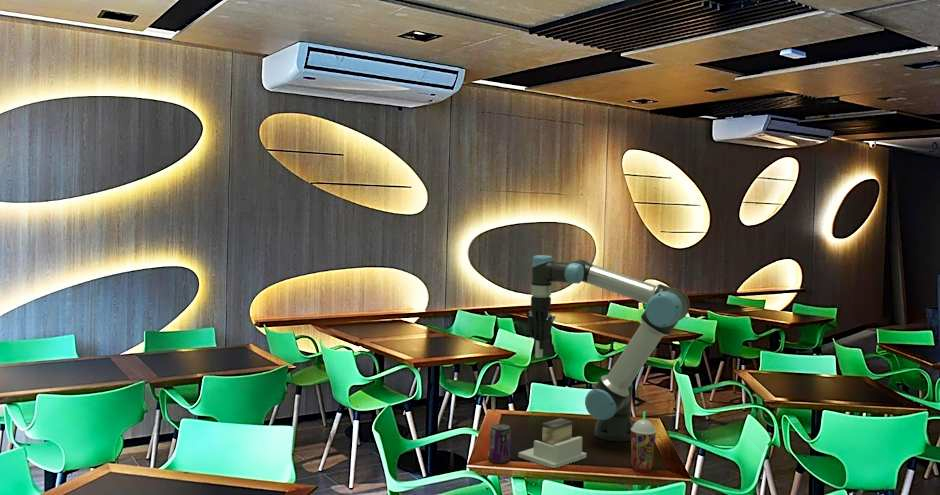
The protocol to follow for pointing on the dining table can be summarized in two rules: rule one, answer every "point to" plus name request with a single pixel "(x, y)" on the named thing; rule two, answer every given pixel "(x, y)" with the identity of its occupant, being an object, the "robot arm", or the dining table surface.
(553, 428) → the grey and beige block
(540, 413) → the dining table surface
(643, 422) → the smoothie
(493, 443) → the beverage can
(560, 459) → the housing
